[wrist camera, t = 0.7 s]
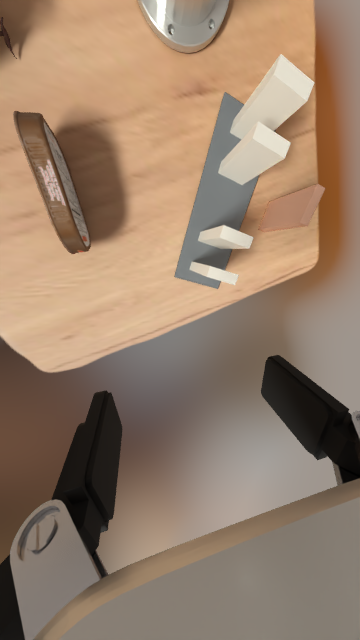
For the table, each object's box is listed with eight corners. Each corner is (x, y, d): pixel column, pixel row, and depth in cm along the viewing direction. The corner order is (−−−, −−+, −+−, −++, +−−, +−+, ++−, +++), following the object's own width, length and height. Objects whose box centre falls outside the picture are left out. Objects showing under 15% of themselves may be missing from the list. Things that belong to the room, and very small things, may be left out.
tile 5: (233, 119, 27) (280, 53, 18) (258, 135, 28) (314, 82, 19) (229, 132, 27) (273, 74, 18) (254, 147, 29) (307, 101, 20)
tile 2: (200, 231, 32) (223, 225, 23) (223, 240, 33) (253, 237, 24) (197, 240, 32) (219, 237, 23) (220, 248, 34) (249, 248, 25)
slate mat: (223, 94, 26) (225, 92, 25) (274, 128, 29) (276, 126, 28) (174, 276, 34) (174, 277, 34) (217, 288, 37) (217, 288, 37)
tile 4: (221, 161, 28) (258, 121, 19) (245, 174, 30) (290, 142, 21) (217, 172, 29) (252, 138, 20) (242, 185, 30) (284, 158, 21)
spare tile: (258, 229, 34) (299, 222, 25) (269, 201, 33) (317, 183, 24) (264, 232, 35) (307, 226, 26) (275, 204, 33) (325, 188, 24)
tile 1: (191, 261, 34) (210, 265, 25) (213, 268, 35) (238, 275, 26) (189, 269, 34) (206, 276, 25) (211, 275, 36) (234, 285, 27)
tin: (39, 138, 24) (-10, 85, 16) (63, 137, 24) (27, 85, 16) (79, 253, 30) (58, 255, 22) (98, 251, 30) (83, 251, 22)
